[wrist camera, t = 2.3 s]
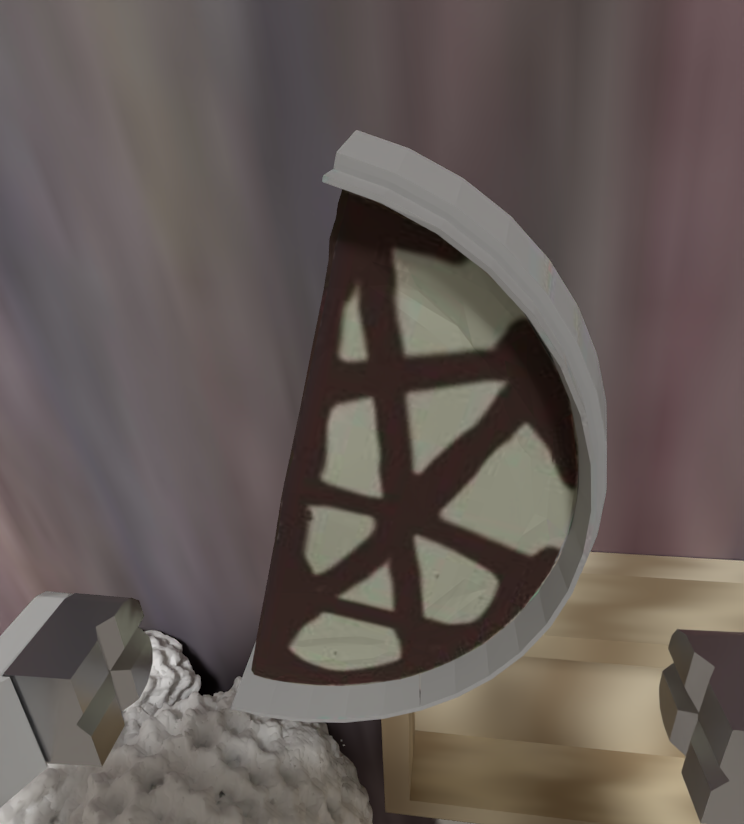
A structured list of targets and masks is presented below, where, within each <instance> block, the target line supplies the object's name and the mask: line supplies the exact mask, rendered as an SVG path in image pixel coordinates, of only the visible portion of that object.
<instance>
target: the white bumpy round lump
mask: <svg viewBox="0 0 744 824" xmlns="http://www.w3.org/2000/svg"><path fill="white" fill-rule="evenodd" d="M144 632H145V633H146V634H147V635H148V636H149V637H150V641H151V645H152V649H153V663H152V667H151V671H150V675H149V679H148V683H147V685H146V687H145V689H144V690H143V692H142V694H141V696H140V698H139V699H138V700H137V701H136V702H134V703H133V704H132V705H130V706H129V707H128V708H126V709H125V710H124V711H123V717H124V723H125V726H124V728H123V730H122V731H121V733H120V735H119V737H118V739H117V741H116V742H115V744H114V746H113V748H112V750H111V752H110V753H109V755H108V757H107V759H106V761H105V762H104V764H103V766H102V767H96V766H80V765H64V764H47V768H46V769H45V770H44V771H42V772H41V773H40V774H39V775H38V776H37V777H35V778H34V779H33V780H32V781H31V782H30V783H28V784H27V785H26V786H25V787H24V788H23V789H22V790H20V791H19V792H18V793H17V794H16V795H15V796H13V797H12V798H11V799H10V800H9V801H8V802H7V803H5V804H4V805H3V806H2V807H1V808H0V824H373V822H372V818H373V811H372V809H371V805H370V804H369V795H368V793H367V790H366V788H365V787H364V786H362V785H361V784H360V783H359V779H358V776H357V770H356V767H355V766H354V764H353V763H352V762H351V761H350V760H349V759H348V758H347V757H346V756H345V755H344V754H342V753H341V752H340V750H339V744H338V743H337V741H335V740H334V739H333V736H329V733H328V728H327V724H326V723H322V722H301V721H293V720H284V719H276V718H268V717H263V716H259V715H254V714H250V713H246V712H241V711H237V710H233V709H231V706H232V703H233V701H234V698H235V695H236V693H237V690H238V687H239V685H240V682H241V679H242V677H241V676H238V677H237V678H236V679H235V680H234V685H233V686H232V688H231V689H230V690H229V691H227V692H225V693H224V692H222V691H219V692H218V693H214V696H211V695H203V696H201V695H200V694H199V693H198V691H199V689H200V688H201V677H200V676H199V675H196V674H195V671H194V670H193V669H192V666H191V664H190V661H189V659H188V658H187V657H186V656H184V655H183V654H182V651H183V648H182V645H181V643H180V642H178V641H177V640H176V639H175V638H172V637H170V636H168V635H164V634H163V633H161V632H159V631H156V630H155V631H153V630H148V631H144ZM341 741H342V740H341ZM343 746H345V745H344V744H343Z"/></svg>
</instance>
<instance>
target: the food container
mask: <svg viewBox="0 0 744 824" xmlns="http://www.w3.org/2000/svg"><path fill="white" fill-rule="evenodd" d="M322 182H324V183H327V184H330V185H333V186H335V187H338V188H341V189H342V193H341V196H340V199H339V202H338V208H337V215H336V220H335V223H334V226H333V229H332V233H331V236H330V242H329V261H328V267H327V273H326V279H325V285H324V291H323V296H322V301H321V306H320V311H319V316H318V321H317V326H316V331H315V336H314V341H313V346H312V351H311V356H310V361H309V366H308V372H307V377H306V382H305V387H304V392H303V397H302V402H301V408H300V413H299V417H298V422H297V427H296V431H295V436H294V441H293V445H292V450H291V455H290V460H289V464H288V469H287V474H286V478H285V483H284V488H283V492H282V497H281V504H280V510H279V517H278V523H277V530H276V536H275V543H274V548H273V553H272V559H271V564H270V570H269V575H268V580H267V586H266V591H265V596H264V602H263V607H262V612H261V618H260V623H259V628H258V633H257V639H256V642H255V645H254V648H253V650H252V653H251V656H250V658H249V661H248V663H247V666H246V669H245V671H244V674H243V677H242V679H241V682H240V685H239V687H238V690H237V693H236V695H235V698H234V701H233V703H232V706H231V709H233V710H237V711H241V712H246V713H250V714H254V715H259V716H263V717H268V718H276V719H284V720H293V721H301V722H336V723H346V722H356V721H366V720H377V719H385V718H390V717H394V716H399V715H403V714H408V713H412V712H417V711H421V710H424V709H427V708H430V707H432V706H435V705H438V704H441V703H443V702H446V701H449V700H452V699H454V698H457V697H459V696H461V695H463V694H465V693H467V692H469V691H471V690H472V689H474V688H476V687H478V686H480V685H482V684H484V683H486V682H488V681H489V680H491V679H493V678H494V677H495V676H497V675H498V674H499V673H501V672H502V671H504V670H505V669H506V668H508V667H509V666H510V665H512V664H513V663H514V662H516V661H517V660H518V659H520V658H521V657H522V656H523V655H524V654H525V653H526V652H527V651H528V650H529V649H530V648H531V647H532V646H533V645H534V644H535V643H536V642H537V641H538V640H539V639H540V638H541V637H542V635H543V634H544V633H545V632H546V631H547V630H548V629H549V628H550V627H551V625H552V624H553V622H554V621H555V619H556V618H557V616H558V615H559V613H560V612H561V610H562V609H563V607H564V606H565V604H566V603H567V601H568V599H569V598H570V596H571V595H572V593H573V591H574V588H575V586H576V584H577V581H578V579H579V576H580V574H581V573H582V570H583V568H584V565H585V563H586V561H587V558H588V556H589V553H590V551H591V549H592V546H593V544H594V541H595V539H596V537H597V534H598V529H599V525H600V520H601V515H602V510H603V505H604V500H605V495H606V486H607V411H606V398H605V393H604V387H603V382H602V377H601V372H600V367H599V361H598V356H597V353H596V350H595V348H594V345H593V343H592V340H591V338H590V335H589V333H588V330H587V327H586V325H585V322H584V320H583V317H582V315H581V312H580V310H579V307H578V305H577V304H576V302H575V300H574V299H573V297H572V295H571V294H570V292H569V291H568V289H567V287H566V286H565V284H564V283H563V281H562V279H561V278H560V276H559V274H558V273H557V271H556V270H555V268H554V266H553V265H552V263H551V261H550V260H549V259H548V257H547V256H546V255H545V254H544V253H543V252H542V251H541V250H540V248H539V247H538V246H537V245H536V244H535V243H534V242H533V241H532V239H531V238H530V237H529V236H528V235H527V234H526V233H525V232H524V231H523V229H522V228H521V227H520V226H519V225H518V224H517V223H516V222H515V220H514V219H513V218H512V217H511V216H510V215H509V214H507V213H506V212H505V211H504V210H502V209H501V208H500V207H499V206H497V205H496V204H495V203H494V202H492V201H491V200H490V199H489V198H487V197H486V196H485V195H484V194H482V193H481V192H480V191H479V190H477V189H476V188H475V187H474V186H472V185H471V184H470V183H469V182H467V181H466V180H465V179H463V178H462V177H460V176H458V175H456V174H455V173H453V172H451V171H449V170H447V169H445V168H444V167H442V166H440V165H438V164H436V163H435V162H433V161H431V160H429V159H427V158H425V157H424V156H422V155H420V154H418V153H416V152H415V151H413V150H411V149H409V148H406V147H404V146H401V145H398V144H395V143H392V142H389V141H386V140H384V139H381V138H378V137H375V136H372V135H369V134H367V133H364V132H361V131H358V130H356V131H355V132H354V133H353V134H352V135H351V137H350V138H349V139H348V140H347V141H346V142H345V143H344V144H343V145H342V147H341V148H340V149H339V150H338V151H337V152H336V158H335V164H334V169H333V170H331V171H330V172H328V173H326V174H325V175H323V181H322Z"/></svg>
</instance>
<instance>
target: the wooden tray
mask: <svg viewBox="0 0 744 824" xmlns="http://www.w3.org/2000/svg"><path fill="white" fill-rule="evenodd" d="M677 629H684V630H704V631H725V632H744V561H737V560H720V559H703V558H686V557H669V556H651V555H634V554H617V553H600V552H590V553H589V556H588V558H587V561H586V563H585V565H584V568H583V570H582V573H581V574H580V576H579V579H578V581H577V584H576V586H575V588H574V591H573V593H572V595H571V596H570V598H569V599H568V601H567V603H566V604H565V606H564V607H563V609H562V610H561V612H560V613H559V615H558V616H557V618H556V619H555V621H554V622H553V624H552V625H551V627H550V628H549V629H548V630H547V631H546V632H545V633H544V634H543V635H542V637H541V638H540V639H539V640H538V641H537V642H536V643H535V644H534V645H533V646H532V647H531V648H530V649H529V650H528V651H527V652H526V653H525V654H524V655H523V656H522V657H521V658H520V659H518V660H517V661H516V662H514V663H513V664H512V665H510V666H509V667H508V668H506V669H505V670H504V671H502V672H501V673H499V674H498V675H497V676H495V677H494V678H493V679H491V680H489V681H488V682H486V683H484V684H482V685H480V686H478V687H476V688H474V689H472V690H471V691H469V692H467V693H465V694H463V695H461V696H459V697H457V698H454V699H452V700H449V701H446V702H443V703H441V704H438V705H435V706H432V707H430V708H427V709H424V710H421V711H417V712H412V713H408V714H403V715H399V716H394V717H390V718H385V719H381V725H382V748H383V770H384V793H385V812H388V813H396V814H404V815H412V816H420V817H428V818H436V819H444V820H453V821H462V822H470V823H477V824H702V823H700V821H699V818H698V816H697V813H696V810H695V808H694V805H693V802H692V800H691V797H690V795H689V792H688V789H687V787H686V784H685V781H684V779H683V776H682V774H681V771H682V768H683V764H684V761H685V757H686V756H685V755H684V754H683V753H682V752H681V751H680V750H678V749H677V748H676V747H675V746H674V745H673V744H672V743H671V742H670V741H669V738H668V736H667V733H666V730H665V727H664V724H663V720H662V716H661V711H660V704H659V685H660V680H661V675H662V671H663V670H664V669H666V668H667V667H668V666H670V665H671V664H672V663H674V662H673V659H672V657H671V655H670V652H669V650H668V647H669V643H670V639H671V636H672V635H673V633H674V632H675V631H676V630H677Z"/></svg>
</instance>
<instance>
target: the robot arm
mask: <svg viewBox="0 0 744 824" xmlns="http://www.w3.org/2000/svg"><path fill="white" fill-rule="evenodd" d="M143 617H144V615H143V611H142V608H141V605H140V602H139V600H136V599H133V598H125V597H114V596H102V595H90V594H78V593H75V594H71V593H59V592H48V591H46V592H44V593H42V594H40V595H38V596H36V597H35V598H34V599H33V600H32V601H31V602H30V603H29V605H28V606H27V607H26V608H25V609H24V610H23V611H22V612H21V613H20V615H19V616H18V617H17V618H16V619H15V620H14V621H13V622H12V624H11V625H10V626H9V627H8V628H7V629H6V630H5V631H4V632H3V634H2V635H1V636H0V808H1V807H2V806H3V805H4V804H5V803H7V802H8V801H9V800H10V799H11V798H12V797H13V796H15V795H16V794H17V793H18V792H19V791H20V790H22V789H23V788H24V787H25V786H26V785H27V784H28V783H30V782H31V781H32V780H33V779H34V778H35V777H37V776H38V775H39V774H40V773H41V772H42V771H44V770H45V769H46V768H47V764H64V765H80V766H96V767H102V766H103V764H104V762H105V761H106V759H107V757H108V755H109V753H110V752H111V750H112V748H113V746H114V744H115V742H116V741H117V739H118V737H119V735H120V733H121V731H122V730H123V728H124V726H125V723H124V717H123V711H124V710H125V709H126V708H128V707H129V706H130V705H132V704H133V703H134V702H136V701H137V700H138V699H139V698H140V696H141V694H142V692H143V690H144V689H145V687H146V685H147V683H148V679H149V675H150V671H151V667H152V663H153V649H152V645H151V641H150V637H149V636H148V635H147V634H146V633H145V632H144V631H143V630H141V629H140V628H139V627H138V625H139V624H140V622H141V621H142V619H143ZM668 650H669V652H670V655H671V657H672V659H673V662H674V663H672V664H671V665H670V666H668V667H667V668H666V669H664V670H663V671H662V675H661V680H660V685H659V704H660V711H661V716H662V720H663V724H664V727H665V730H666V733H667V736H668V738H669V741H670V742H671V743H672V744H673V745H674V746H675V747H676V748H677V749H678V750H680V751H681V752H682V753H683V754H684V755H685V756H686V757H685V761H684V764H683V768H682V771H681V774H682V776H683V779H684V781H685V784H686V787H687V789H688V792H689V795H690V797H691V800H692V802H693V805H694V808H695V810H696V813H697V816H698V818H699V821H700V823H702V824H744V632H725V631H704V630H684V629H677V630H676V631H675V632H674V633H673V635H672V636H671V639H670V643H669V647H668Z"/></svg>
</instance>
